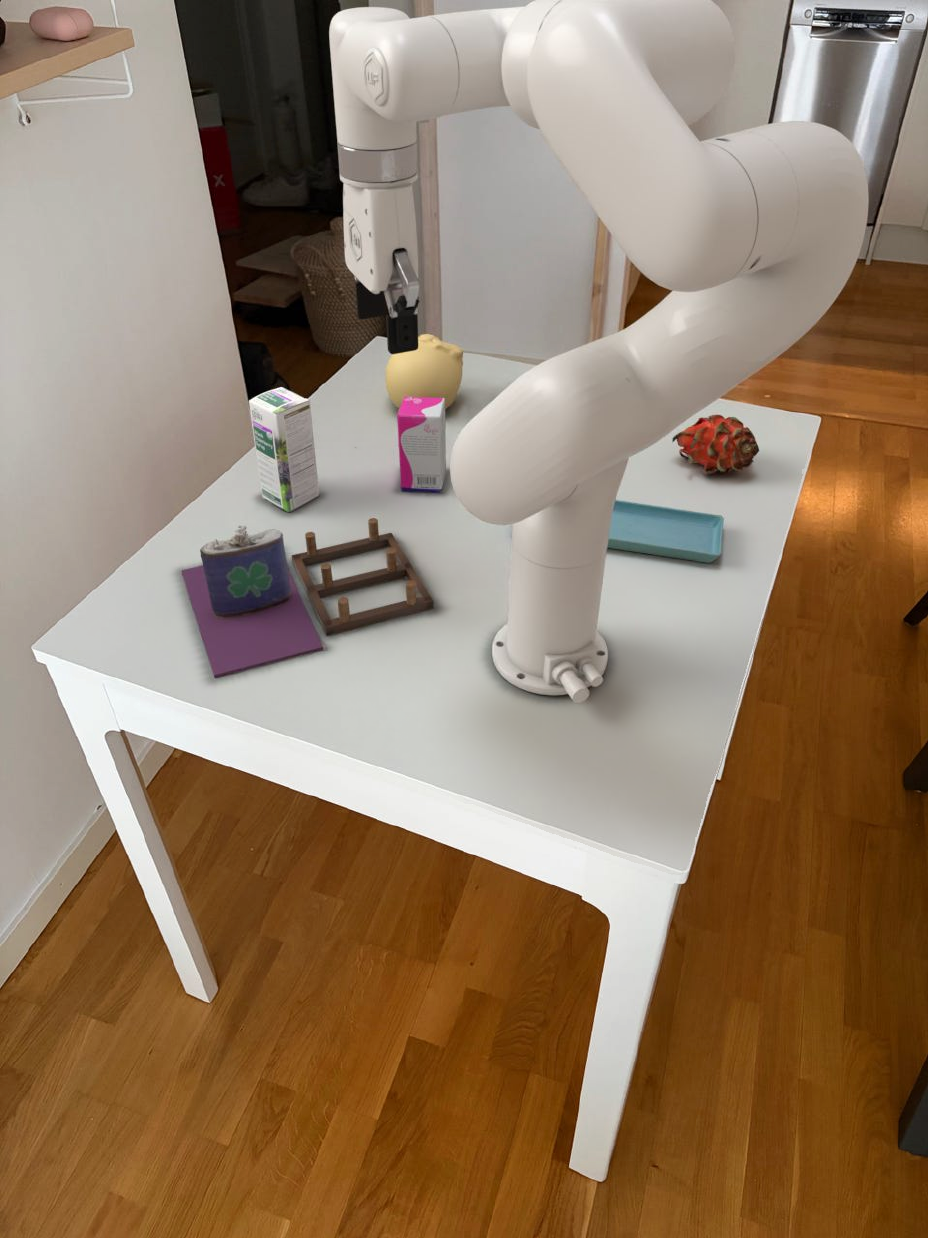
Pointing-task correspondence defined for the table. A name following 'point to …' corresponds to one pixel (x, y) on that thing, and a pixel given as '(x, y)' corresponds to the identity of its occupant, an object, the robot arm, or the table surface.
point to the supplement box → (422, 444)
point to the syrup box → (284, 448)
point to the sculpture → (425, 371)
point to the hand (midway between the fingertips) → (387, 333)
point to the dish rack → (360, 581)
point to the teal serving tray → (666, 531)
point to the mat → (250, 630)
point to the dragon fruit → (718, 444)
